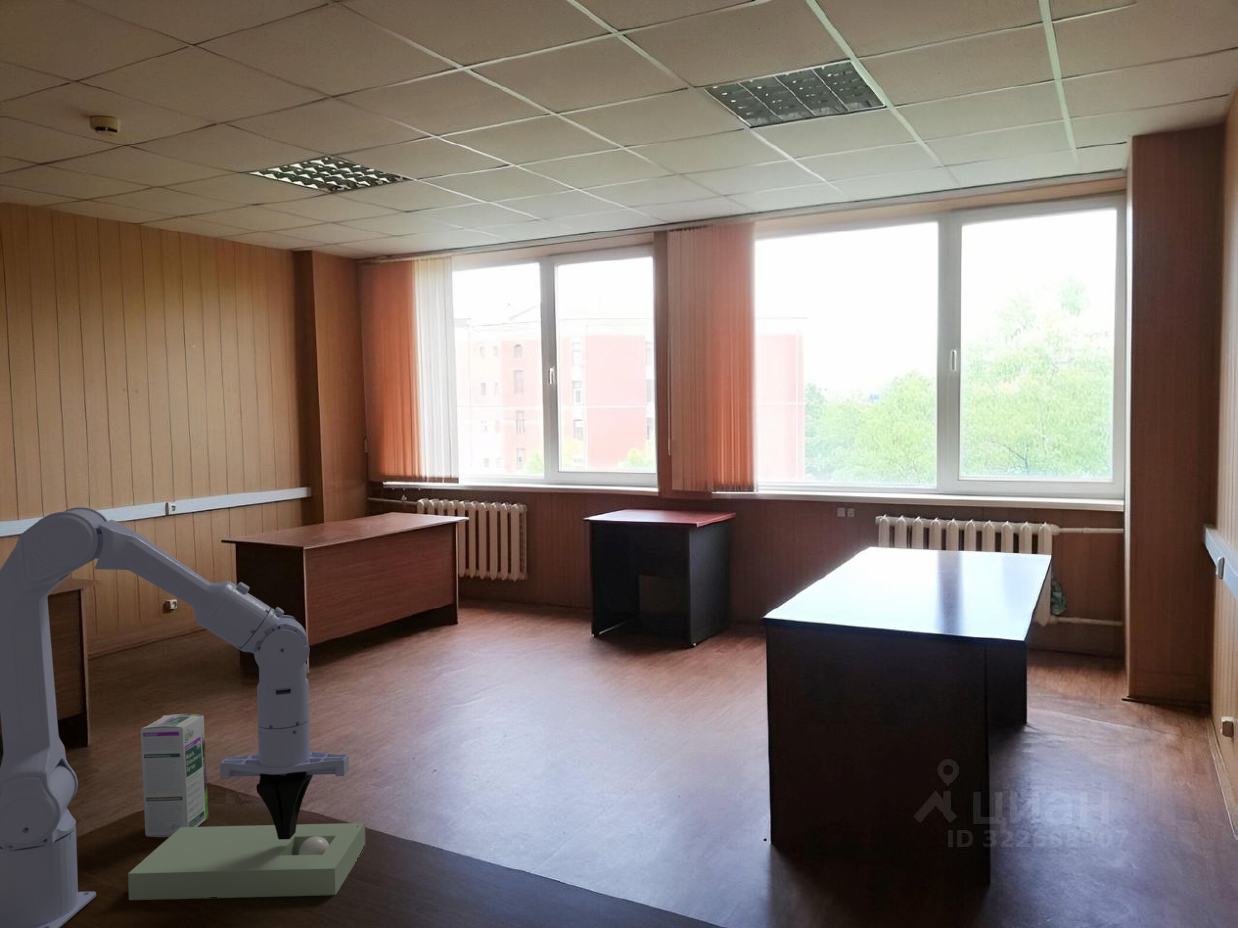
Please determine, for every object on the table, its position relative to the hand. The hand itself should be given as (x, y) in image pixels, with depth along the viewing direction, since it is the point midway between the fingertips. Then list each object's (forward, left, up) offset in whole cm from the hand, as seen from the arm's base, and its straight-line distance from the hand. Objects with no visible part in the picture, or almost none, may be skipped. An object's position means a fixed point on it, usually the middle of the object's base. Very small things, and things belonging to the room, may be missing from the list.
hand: (286, 835), depth 104 cm
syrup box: (-20, +13, -4) cm, 24 cm away
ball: (+3, 0, -2) cm, 4 cm away
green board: (-4, 0, -4) cm, 6 cm away
